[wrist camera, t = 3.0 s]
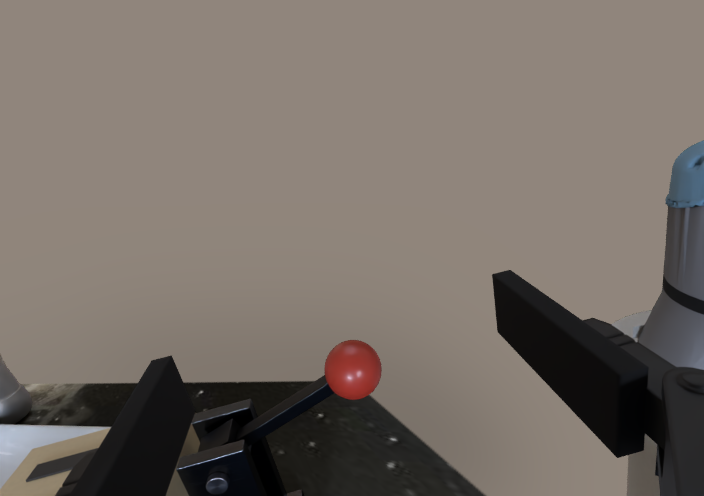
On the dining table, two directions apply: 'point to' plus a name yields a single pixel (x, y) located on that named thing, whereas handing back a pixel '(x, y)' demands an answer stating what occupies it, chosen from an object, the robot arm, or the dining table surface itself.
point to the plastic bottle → (12, 397)
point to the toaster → (72, 465)
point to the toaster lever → (309, 394)
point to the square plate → (31, 442)
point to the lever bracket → (231, 460)
